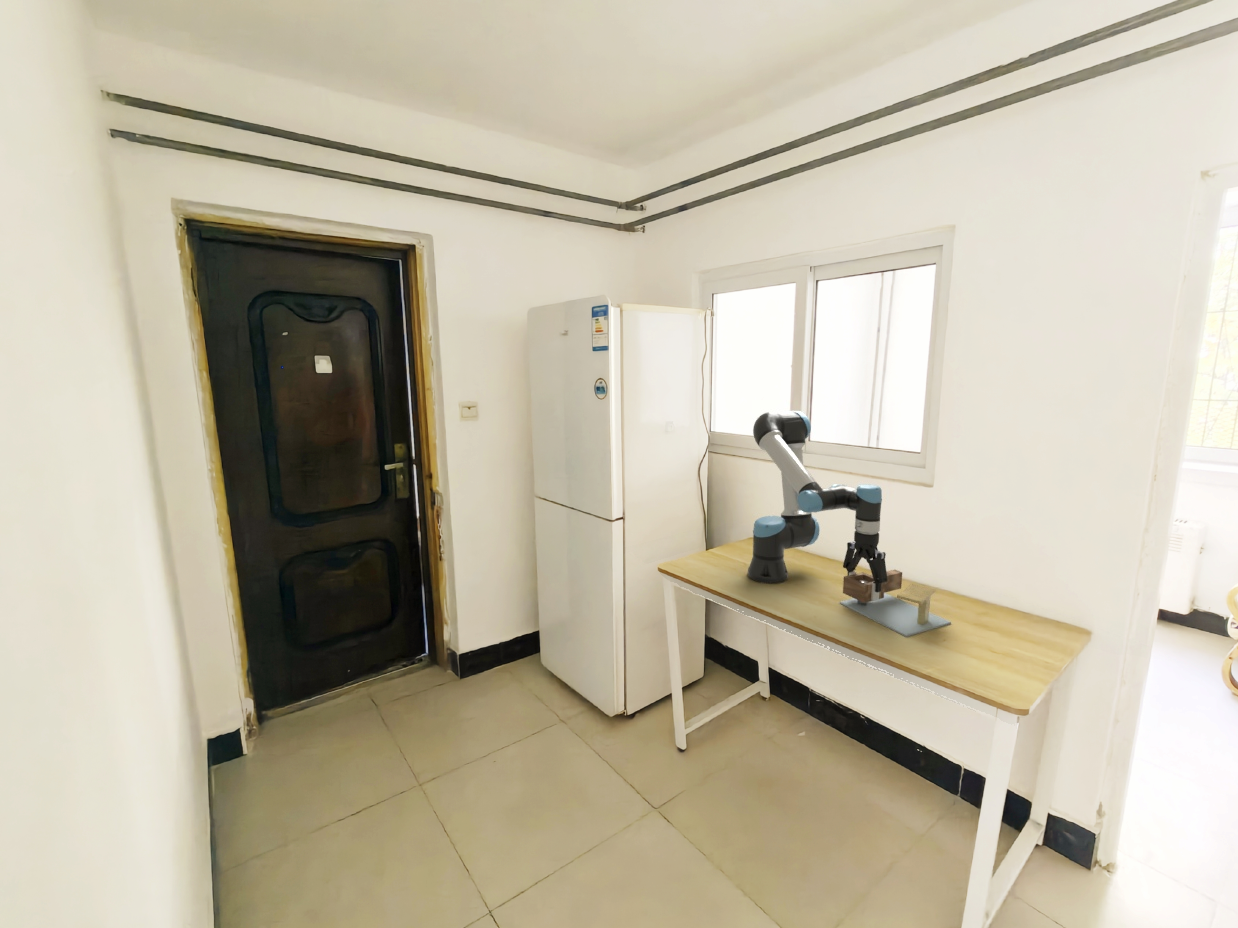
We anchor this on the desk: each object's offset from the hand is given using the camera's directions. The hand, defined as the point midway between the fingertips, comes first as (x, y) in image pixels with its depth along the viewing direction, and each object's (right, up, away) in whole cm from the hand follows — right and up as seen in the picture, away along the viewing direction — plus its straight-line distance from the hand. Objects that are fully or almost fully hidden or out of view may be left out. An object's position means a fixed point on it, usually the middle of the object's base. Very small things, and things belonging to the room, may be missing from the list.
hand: (863, 594), depth 181 cm
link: (+6, 0, +2) cm, 6 cm away
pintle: (0, -4, +1) cm, 4 cm away
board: (+8, -5, -5) cm, 10 cm away
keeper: (+11, -6, -11) cm, 17 cm away
